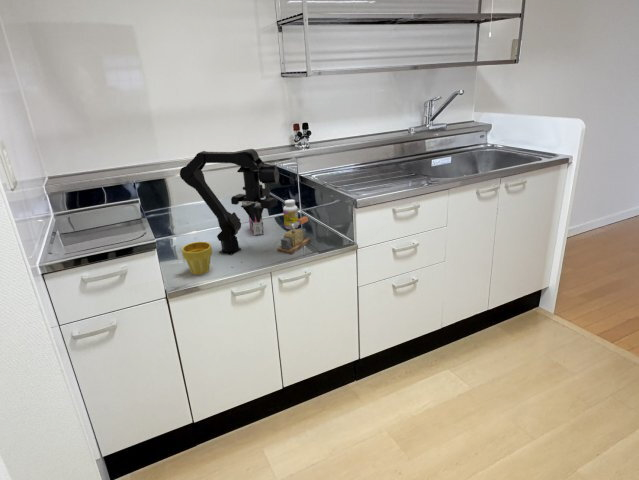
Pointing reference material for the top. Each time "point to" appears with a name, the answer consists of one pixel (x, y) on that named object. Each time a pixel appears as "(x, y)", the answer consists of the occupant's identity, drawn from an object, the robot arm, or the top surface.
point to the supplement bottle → (290, 213)
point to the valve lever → (299, 222)
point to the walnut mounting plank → (294, 247)
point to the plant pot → (198, 256)
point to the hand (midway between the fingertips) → (256, 222)
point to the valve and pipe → (293, 238)
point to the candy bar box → (256, 226)
